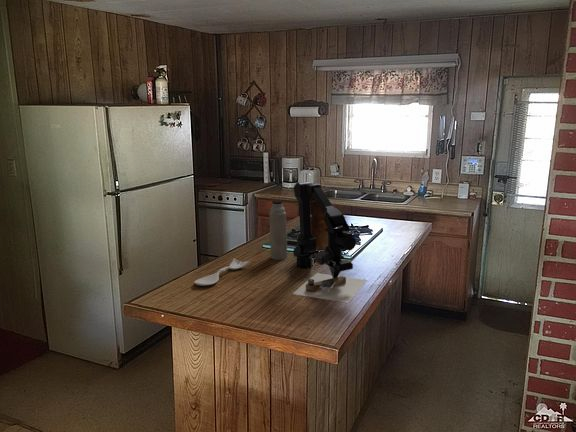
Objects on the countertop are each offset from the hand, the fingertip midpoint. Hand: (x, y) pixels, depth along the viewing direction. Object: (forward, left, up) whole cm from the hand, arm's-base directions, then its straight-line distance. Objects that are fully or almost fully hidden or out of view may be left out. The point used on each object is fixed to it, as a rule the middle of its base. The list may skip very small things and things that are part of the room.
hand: (334, 279), depth 201 cm
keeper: (+1, -11, -1) cm, 11 cm away
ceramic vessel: (-23, +41, -2) cm, 47 cm away
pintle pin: (-5, -12, +2) cm, 13 cm away
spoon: (-49, -10, -2) cm, 50 cm away
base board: (+1, -5, -2) cm, 6 cm away
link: (-1, -6, -1) cm, 6 cm away
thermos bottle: (-37, +23, -2) cm, 44 cm away
